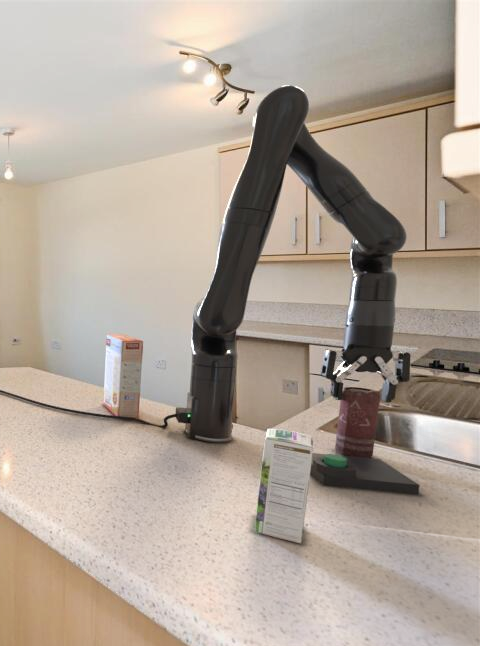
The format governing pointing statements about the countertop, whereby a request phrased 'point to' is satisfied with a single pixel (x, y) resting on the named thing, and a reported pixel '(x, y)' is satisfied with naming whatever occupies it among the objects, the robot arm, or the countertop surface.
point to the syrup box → (284, 484)
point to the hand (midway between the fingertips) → (361, 400)
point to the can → (357, 422)
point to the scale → (362, 475)
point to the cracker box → (123, 375)
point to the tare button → (335, 460)
